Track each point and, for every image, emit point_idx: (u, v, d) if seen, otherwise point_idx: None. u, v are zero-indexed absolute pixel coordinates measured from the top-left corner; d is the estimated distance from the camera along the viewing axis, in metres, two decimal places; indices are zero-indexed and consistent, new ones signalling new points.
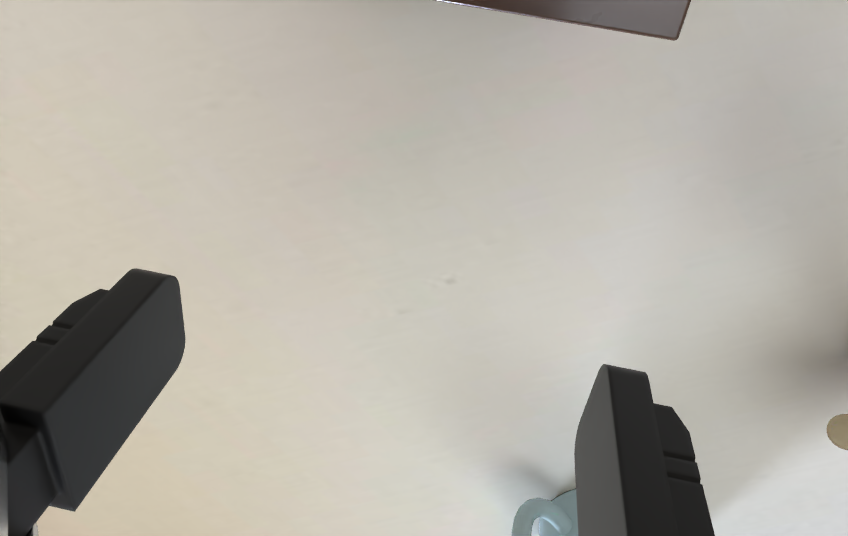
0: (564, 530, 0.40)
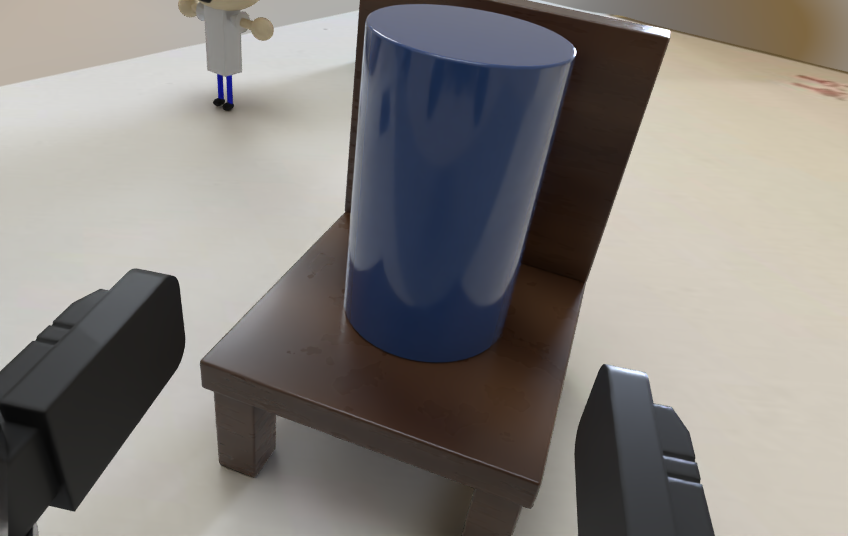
0: None
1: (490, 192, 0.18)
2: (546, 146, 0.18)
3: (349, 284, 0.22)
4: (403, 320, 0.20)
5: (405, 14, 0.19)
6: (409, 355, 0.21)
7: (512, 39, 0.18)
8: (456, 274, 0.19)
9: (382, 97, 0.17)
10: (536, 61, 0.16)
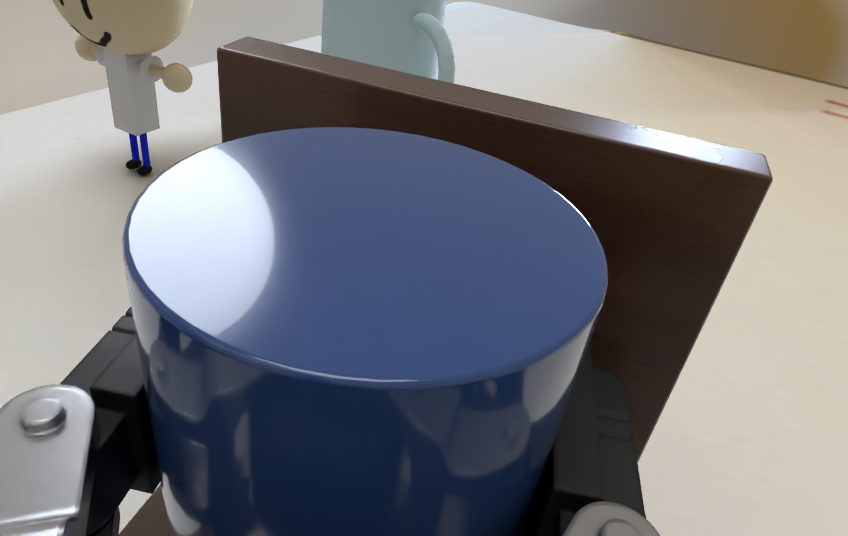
0: None
1: None
2: (543, 461, 0.08)
3: None
4: None
5: (242, 169, 0.09)
6: None
7: (465, 237, 0.08)
8: None
9: (157, 396, 0.07)
10: (517, 335, 0.07)
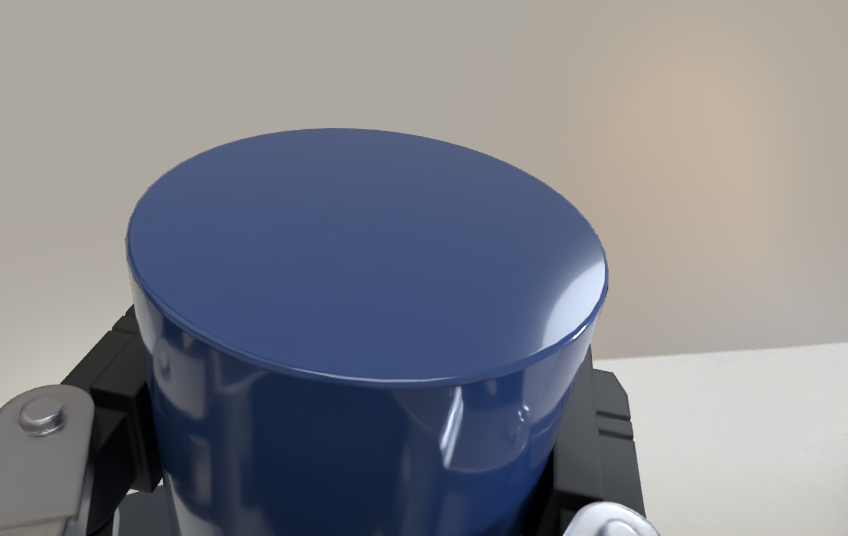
0: None
1: None
2: (544, 460, 0.08)
3: None
4: None
5: (244, 170, 0.09)
6: None
7: (466, 238, 0.08)
8: None
9: (160, 396, 0.07)
10: (516, 335, 0.07)
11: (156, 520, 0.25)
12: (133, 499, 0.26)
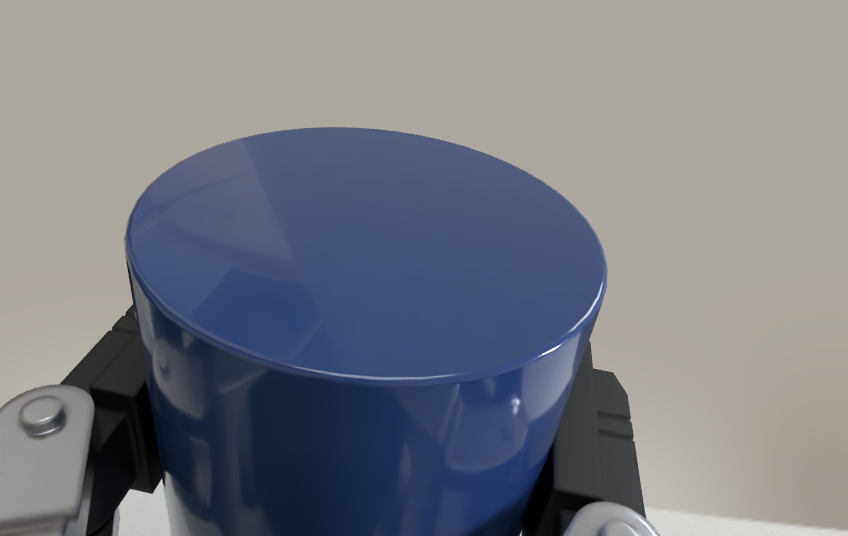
0: None
1: None
2: (543, 458, 0.08)
3: None
4: None
5: (243, 169, 0.09)
6: None
7: (465, 236, 0.08)
8: None
9: (159, 394, 0.07)
10: (515, 332, 0.07)
11: None
12: None
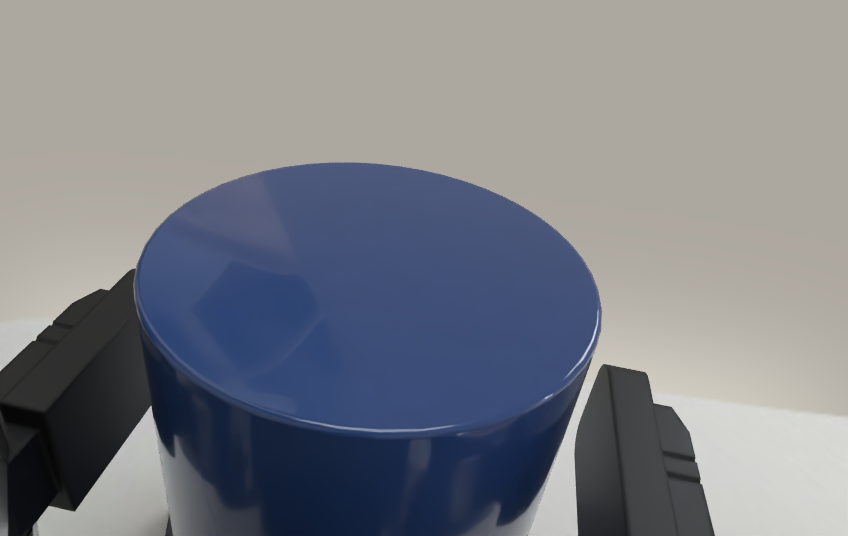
0: None
1: None
2: (540, 494, 0.09)
3: None
4: None
5: (248, 210, 0.09)
6: None
7: (464, 279, 0.08)
8: None
9: (167, 436, 0.08)
10: (511, 380, 0.07)
11: None
12: None
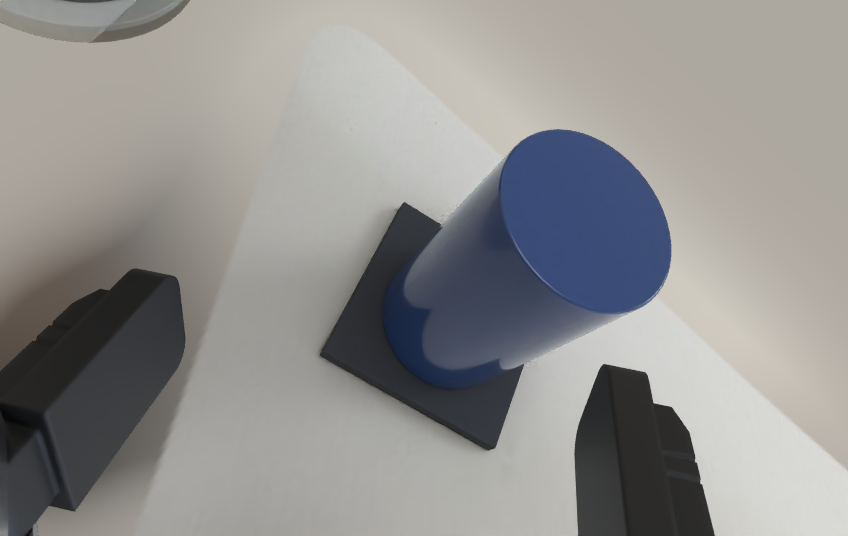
0: None
1: (513, 341, 0.20)
2: (583, 334, 0.20)
3: (396, 283, 0.25)
4: (410, 346, 0.24)
5: (553, 155, 0.19)
6: (404, 363, 0.25)
7: (616, 247, 0.19)
8: (461, 357, 0.22)
9: (476, 231, 0.19)
10: (604, 300, 0.18)
11: None
12: None
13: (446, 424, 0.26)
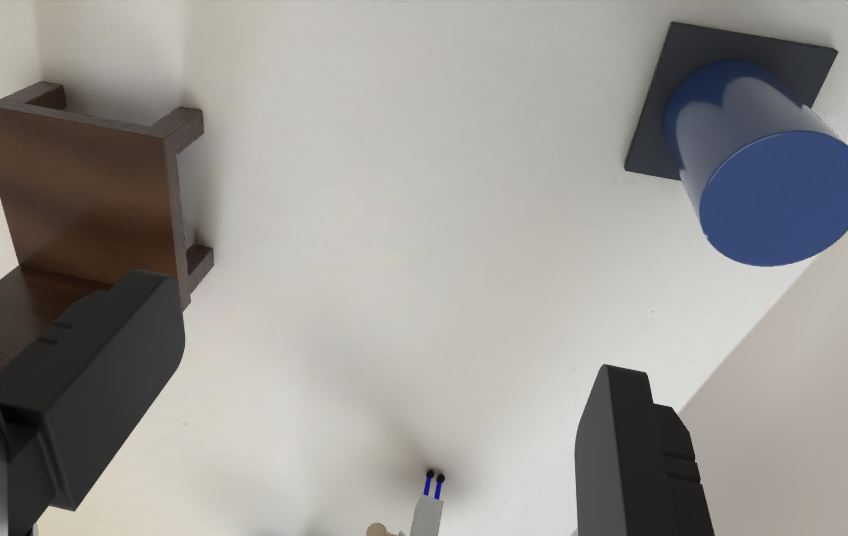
0: None
1: (684, 165, 0.28)
2: None
3: (740, 67, 0.31)
4: (686, 92, 0.31)
5: (833, 169, 0.24)
6: (676, 90, 0.33)
7: (757, 224, 0.26)
8: (677, 131, 0.31)
9: (757, 121, 0.25)
10: (709, 218, 0.26)
11: None
12: None
13: (636, 131, 0.35)
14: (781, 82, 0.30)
